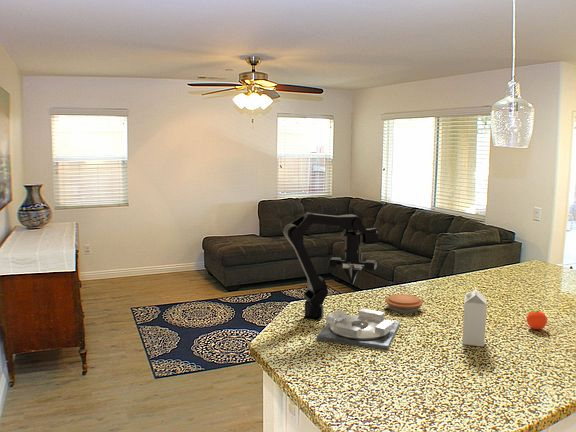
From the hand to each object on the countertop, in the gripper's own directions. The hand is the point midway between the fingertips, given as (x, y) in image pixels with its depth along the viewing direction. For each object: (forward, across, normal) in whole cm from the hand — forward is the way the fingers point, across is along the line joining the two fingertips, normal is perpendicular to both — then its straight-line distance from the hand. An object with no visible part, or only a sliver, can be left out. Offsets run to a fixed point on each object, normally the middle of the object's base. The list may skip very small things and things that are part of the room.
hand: (352, 284), depth 211 cm
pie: (+12, -19, -13) cm, 26 cm away
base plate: (+12, -8, +20) cm, 25 cm away
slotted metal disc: (+10, -8, +20) cm, 24 cm away
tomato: (+12, -68, -7) cm, 69 cm away
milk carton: (+12, -47, +15) cm, 51 cm away
